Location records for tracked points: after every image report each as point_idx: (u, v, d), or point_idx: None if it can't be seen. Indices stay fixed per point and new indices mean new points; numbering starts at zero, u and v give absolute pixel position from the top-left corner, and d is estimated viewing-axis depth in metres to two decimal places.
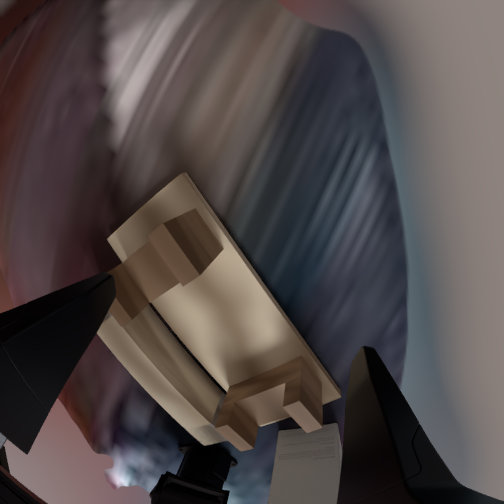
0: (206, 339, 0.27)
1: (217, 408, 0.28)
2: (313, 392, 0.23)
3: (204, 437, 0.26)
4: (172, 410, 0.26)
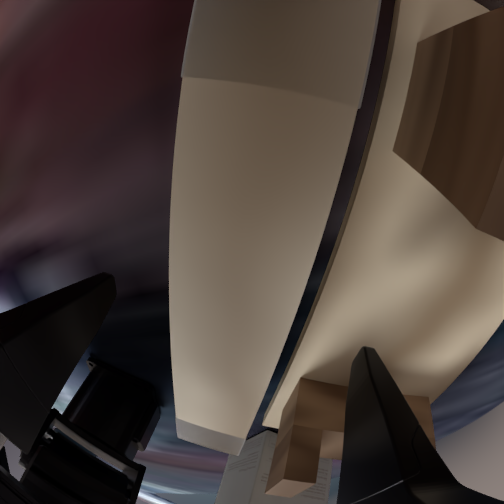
0: (376, 306, 0.12)
1: None
2: None
3: (198, 437, 0.13)
4: (192, 396, 0.11)
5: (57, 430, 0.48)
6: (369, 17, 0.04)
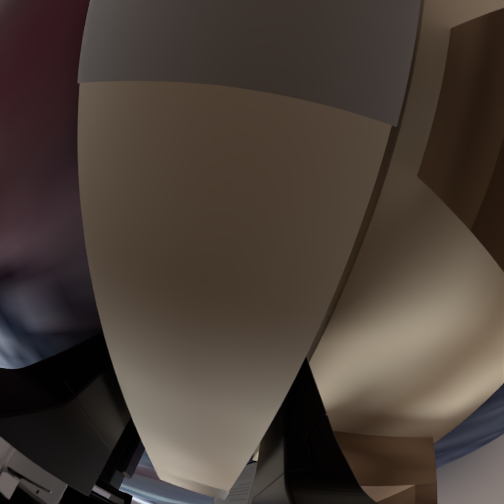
0: (381, 360, 0.09)
1: None
2: None
3: (180, 483, 0.11)
4: (165, 456, 0.08)
5: None
6: None
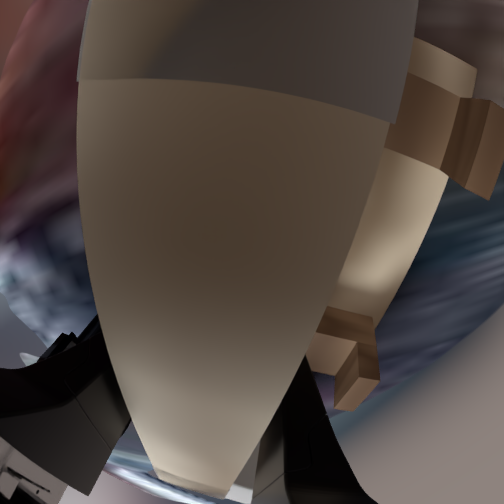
0: None
1: None
2: None
3: (179, 482, 0.11)
4: (165, 456, 0.08)
5: None
6: None
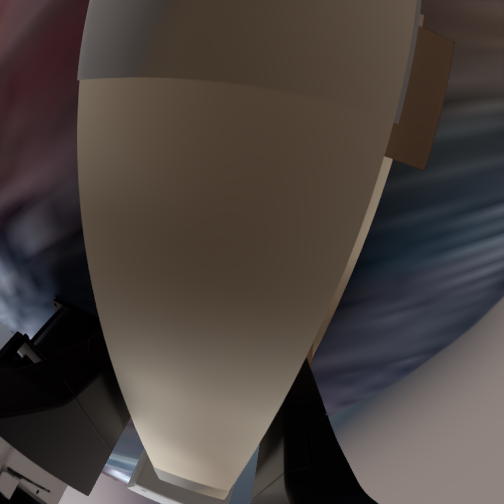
0: None
1: None
2: None
3: (179, 483, 0.11)
4: (165, 456, 0.08)
5: None
6: None
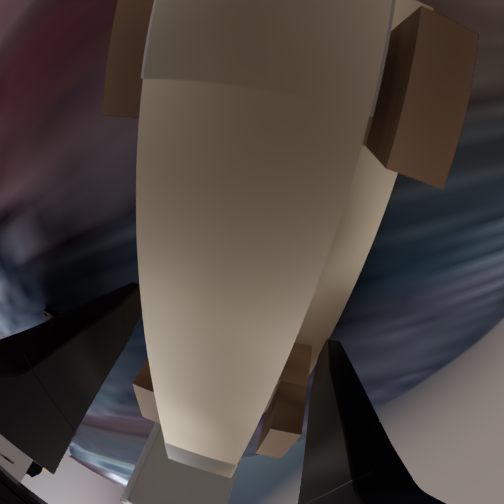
0: None
1: None
2: None
3: (189, 460, 0.12)
4: (179, 426, 0.10)
5: None
6: None
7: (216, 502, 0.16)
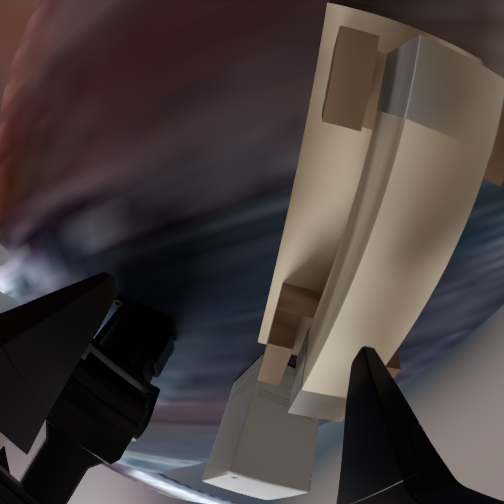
0: (326, 215, 0.18)
1: None
2: None
3: (312, 407, 0.16)
4: (333, 361, 0.13)
5: None
6: (499, 104, 0.06)
7: (304, 462, 0.20)
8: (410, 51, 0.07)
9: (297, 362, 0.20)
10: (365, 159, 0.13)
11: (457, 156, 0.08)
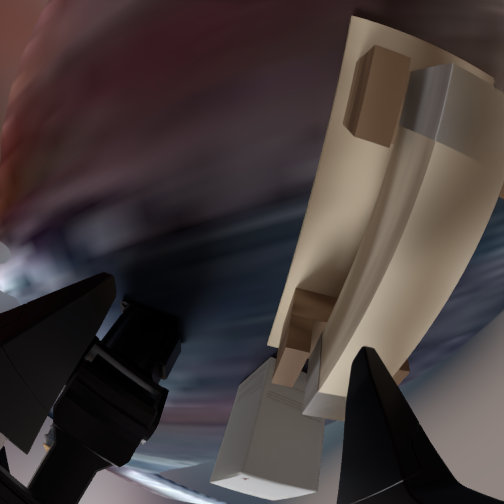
0: (342, 223, 0.19)
1: None
2: None
3: (326, 408, 0.16)
4: None
5: None
6: None
7: (312, 462, 0.20)
8: (441, 76, 0.07)
9: (309, 365, 0.20)
10: (386, 172, 0.13)
11: (477, 176, 0.08)
